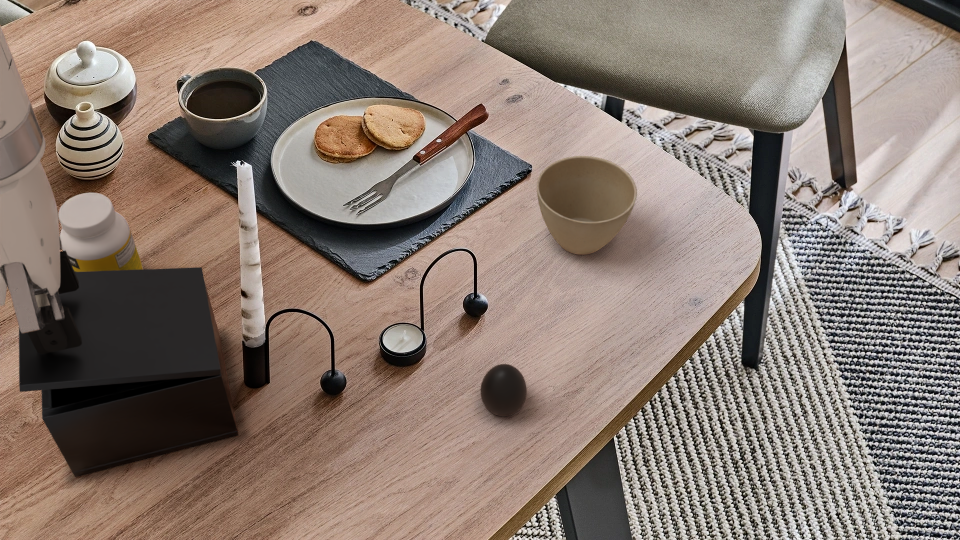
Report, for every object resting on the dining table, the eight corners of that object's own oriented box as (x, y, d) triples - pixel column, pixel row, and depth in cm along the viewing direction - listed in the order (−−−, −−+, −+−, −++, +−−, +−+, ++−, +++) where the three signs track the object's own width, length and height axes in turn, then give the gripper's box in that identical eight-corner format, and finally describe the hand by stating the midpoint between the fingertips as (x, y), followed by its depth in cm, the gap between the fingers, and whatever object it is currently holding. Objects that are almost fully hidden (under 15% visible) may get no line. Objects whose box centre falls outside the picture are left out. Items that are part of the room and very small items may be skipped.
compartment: (75, 478, 79) (41, 418, 72) (69, 371, 86) (38, 308, 80) (239, 436, 82) (221, 375, 75) (220, 336, 89) (202, 273, 83)
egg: (470, 404, 85) (471, 371, 81) (500, 377, 87) (502, 343, 83) (505, 430, 83) (507, 397, 79) (534, 402, 85) (538, 369, 81)
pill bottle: (70, 305, 91) (33, 224, 83) (105, 261, 95) (74, 180, 87) (127, 321, 90) (95, 240, 82) (160, 276, 94) (133, 194, 86)
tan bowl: (586, 193, 104) (594, 143, 99) (646, 248, 99) (657, 197, 93) (513, 228, 100) (517, 177, 95) (571, 286, 95) (578, 236, 89)
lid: (19, 392, 70) (15, 343, 66) (18, 280, 77) (14, 231, 73) (220, 375, 75) (225, 330, 72) (201, 273, 83) (205, 227, 79)
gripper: (-79, 69, 65) (9, 251, 78) (-100, 241, 54) (7, 419, 67) (38, 52, 66) (104, 234, 80) (40, 216, 56) (116, 394, 69)
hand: (59, 317), depth 73 cm, fingers closed on lid, 5 cm apart
